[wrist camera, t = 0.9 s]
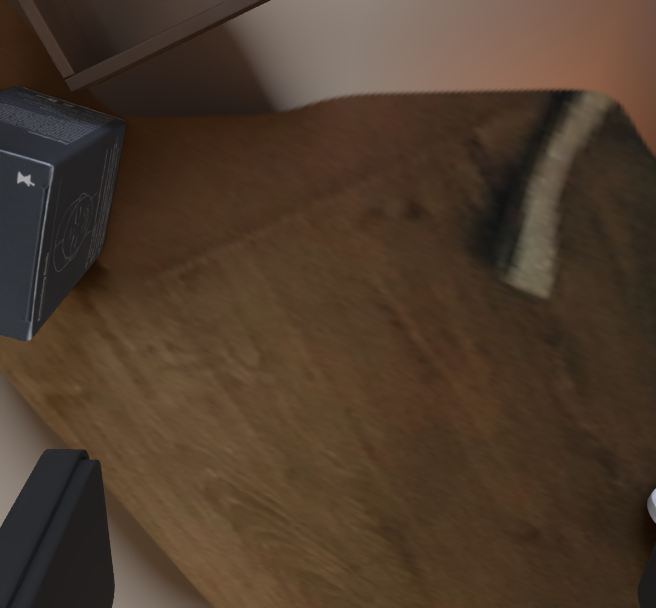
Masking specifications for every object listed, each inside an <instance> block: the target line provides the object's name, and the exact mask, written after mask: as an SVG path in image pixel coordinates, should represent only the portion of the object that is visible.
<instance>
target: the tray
mask: <svg viewBox="0 0 656 608" xmlns="http://www.w3.org/2000/svg"><path fill="white" fill-rule="evenodd" d="M17 1H18V2H19V4H20V6H21V8H22V9H23V11H24V13H25V14H26V16H27V18H28V20H29V21H30V23H31V25H32V26H33V28H34V30H35V31H36V33H37V35H38V37H39V38H40V40H41V42H42V43H43V45H44V47H45V49H46V50H47V52H48V54H49V55H50V57H51V59H52V61H53V62H54V64H55V66H56V67H57V69H58V71H59V73H60V74H61V76H62V78H63V79H65V83H66V85H67V86H68V88H69V90H70V91H71V92H72V93H73V92H76V91H79V90H82V89H84V88H87V87H90V86H93V85H96V84H99V83H101V82H103V81H105V80H107V79H109V78H111V77H113V76H115V75H118V74H119V73H121V72H124V71H125V70H128V69H130V68H132V67H134V66H136V65H138V64H140V63H142V62H144V61H146V60H148V59H151V58H153V57H154V56H157V55H159V54H161V53H163V52H165V51H167V50H169V49H171V48H173V47H175V46H177V45H179V44H181V43H183V42H185V41H188V40H190V39H192V38H194V37H196V36H198V35H200V34H202V33H204V32H206V31H208V30H210V29H212V28H214V27H216V26H218V25H220V24H222V23H225V22H227V21H229V20H231V19H233V18H235V17H237V16H239V15H241V14H243V13H245V12H247V11H249V10H251V9H253V8H255V7H257V6H260V5H262V4H264V3H266V2H268V1H270V0H17Z"/></svg>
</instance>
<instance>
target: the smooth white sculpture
mask: <svg viewBox="0 0 656 608" xmlns="http://www.w3.org/2000/svg"><path fill="white" fill-rule="evenodd" d="M647 508H648V511H649V514H650V516H651V517H652V519H653V521H654V522H655V523H656V489H655V490H654V491H653V492H652V493H651V495H650V496H649V498H648V501H647Z"/></svg>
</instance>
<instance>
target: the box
mask: <svg viewBox="0 0 656 608" xmlns="http://www.w3.org/2000/svg"><path fill="white" fill-rule="evenodd" d="M125 129H126V121H125V120H123V119H120V118H117V117H114V116H111V115H108V114H105V113H102V112H98V111H96V110H92V109H89V108H87V107H83V106H79V105H76V104H73V103H70V102H67V101H64V100H61V99H58V98H55V97H51V96H48V95H45V94H42V93H39V92H36V91H33V90H29V89H27V88H24V87H18V86H17V87H13V88H9V89H5V90H1V91H0V335H2V336H6V337H10V338H13V339H17V340H20V341H30V340H31V339H32V338H33V337H34V336H35V334H36V333H37V332H38V330H39V329H40V328H41V326H42V325H43V324H44V323H45V322H46V321H47V319H48V318H49V317H50V315H51V314H52V313H53V312H54V311H55V309H56V308H57V307H58V306H59V304H60V303H61V302H62V301H63V299H64V298H65V297H66V296H67V295H68V293H69V292H70V291H71V289H72V288H73V287H74V286H75V285H76V283H77V282H78V281H79V280H80V279H81V277H82V276H83V275H84V274H85V273H86V271H87V270H88V269H89V268H90V266H91V265H92V264H93V263H94V262H95V260H96V259H97V258H98V257H99V256H100V254H101V253H102V250H103V246H104V241H105V236H106V230H107V225H108V220H109V215H110V209H111V205H112V199H113V193H114V188H115V183H116V178H117V172H118V167H119V162H120V156H121V151H122V145H123V140H124V135H125Z"/></svg>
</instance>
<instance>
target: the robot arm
mask: <svg viewBox="0 0 656 608" xmlns="http://www.w3.org/2000/svg"><path fill="white" fill-rule="evenodd" d="M114 588H115V584H114V574H113V566H112V557H111V549H110V540H109V531H108V524H107V514H106V506H105V497H104V488H103V480H102V471H101V465H100V462H99V460H89V456H88V453H87V451H86V450H71V449H47V450H45V451H44V453H43V454H42V455H41V457H40V459H39V460H38V462H37V464H36V466H35V467H34V469H33V471H32V473H31V475H30V476H29V478H28V480H27V482H26V483H25V485H24V487H23V489H22V490H21V492H20V494H19V496H18V498H17V499H16V501H15V503H14V505H13V507H12V508H11V510H10V512H9V513H8V515H7V517H6V519H5V520H4V522H3V524H2V526H1V528H0V608H112V604H113V599H114ZM638 598H639V603H640V606H641V608H656V542H655V544H654V547H653V549H652V552H651V555H650V557H649V560H648V562H647V565H646V568H645V570H644V573H643V575H642V578H641V580H640V583H639V587H638Z"/></svg>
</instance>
